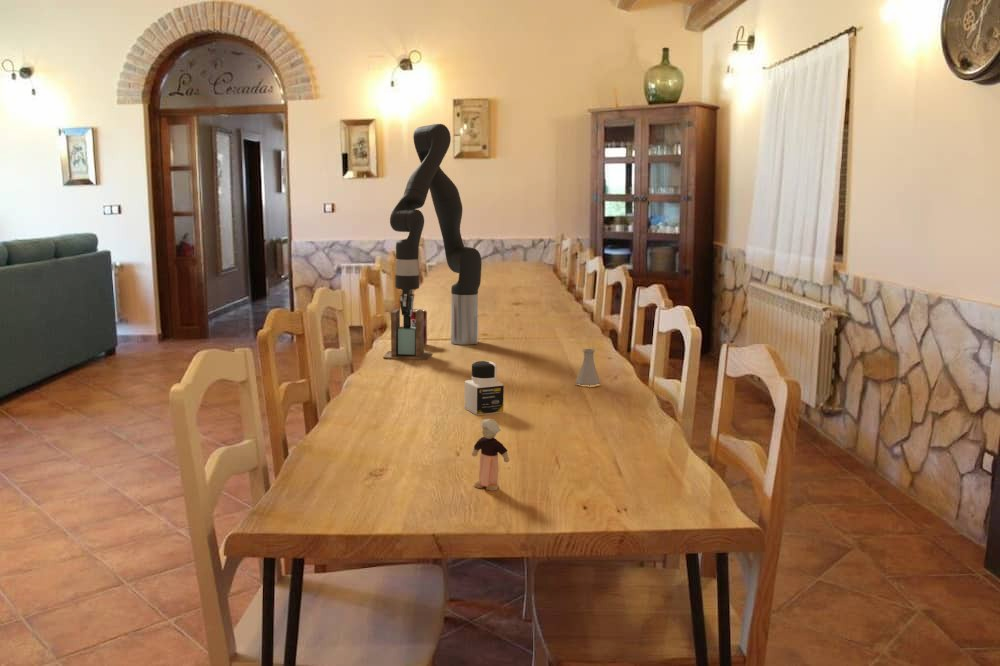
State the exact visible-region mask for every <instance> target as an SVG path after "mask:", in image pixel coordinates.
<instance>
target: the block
mask: <svg viewBox="0 0 1000 666" xmlns="http://www.w3.org/2000/svg"><path fill="white" fill-rule="evenodd" d="M398 354H409V355H415V354H416V327H410V328H404V327H403V326H400V328H399V329H398Z"/></svg>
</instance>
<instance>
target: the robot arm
mask: <svg viewBox="0 0 1000 666" xmlns="http://www.w3.org/2000/svg"><path fill="white" fill-rule="evenodd" d="M412 139H413V143H414V148H415V151H416V154H417V156H418V159H419V163H420V164H419V165H418V166H417V168H416V169H415V170H414V171H413V172H412V173H411V175H410V176H409V179H408V180H407V184H406V186H405V189H404V193H403V195H402V197H401V198H400V199H399V200H398V202H397V204H396V205H395V207H394V208H393V210H392V212H391V214H390V218H389V224H390V227H391V228H392V230H393V231H395V232H398V233H399V232H400V233H401V232H402V233H408V236H407V238H405V239H399V240H397V241H396V243H395V263H394V264H395V266H394V267H395V268H394V273H395V274H394V280H395V281H394V282H395V283H394V287H395V289H396V290H397V289H398V290H402V291H401V294H400V295H399V300H400V302H399V304H400V312H401V315H402V317H403V324H402V327H404V328H410V327H411V316H412V312H413V309H414V301H415V294H414V293H413V290H417V289H418V290H419V288H420V263H419V246H420V241H421V236H422V233H423V231H424V225H425V218H424V214H423V212H422V211H420V210H419V209H420V208H423V207H424V205H425V203H426V200H427V197H428V194H429V192H430V196H431V200H432V205H433V208H434V211H435V214H436V217H437V220H438V225H439V228H440V229H439V230H440V233H441V236H442V241H443V247H444V253H445V259H446V263H447V266H448V268H449V269H450V270H451V272H453V273H456V274H458V281H457V282H456V283H454V284H452V285H451V287H450V288H451V290H450V291H451V292H450V293H451V294H450V297H451V299H450V304H451V306H450V307H451V308H450V341H451V342H450V343H451V344H455V345H460V346H461V345H462V346H463V345H465V346H467V345H477V344H478V342H479V313H478V312H479V310H478V309H479V288H480V286H481V280H482V279H481V277H482V255H481V253H480V251H479V250H478V249H477V248H474V247H470V246H465V245H464V242H463V238H462V234H461V224H462V223H461V222H462V217H463V203H462V200H461V196H460V192H459V190H458V187H457V186H456V185H455V183H454V182H453V180H451V178H450V177H449V176H448V174H446V173H445V172H444V171H443V170H442V168H441V163H442V162H443V160H444V158H445V157H446V154H447V152H448V150H449V148H450V145H451V141H452V137H451V131H450V130H449V128H448V127H447V126H446V125H445V124H443V123H433V124H429V125H424V126H418V127H416V128H415V130H414V131H413V138H412Z"/></svg>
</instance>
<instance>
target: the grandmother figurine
mask: <svg viewBox="0 0 1000 666" xmlns="http://www.w3.org/2000/svg"><path fill="white" fill-rule="evenodd" d="M480 426H481V429H482V430H481V434H482V437H480V438H479V439H478V440H477V441H476V443H475V444H474V445H473V450H472V452H471V456H473V457H477V456H478V453H479V451H480V455H479V469H478V481H476V482H475V483H474V485H473V487H475V488H477V489H482V488H485V489H486V491H493V492H494V491H497V490H498V489H499V488H500V486H499V484H498V482H499V481H498V480H499V479H498V478H499V459H498V458H499V457H498V455H501V457H502V459H503V461H504V463H508V462H509V461H510V457H509V454H508V449H507V448H506V447H505V446H504V444H503V443H501V442H500V441H499V440H498V439H496V438H495V437H496V435H497V434H498V433H499V432H500V431H501V428H500V425H499V424H498V423H497V422H496V420H495V419H493V418H485V419H483V420H482V422H481V425H480Z"/></svg>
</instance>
